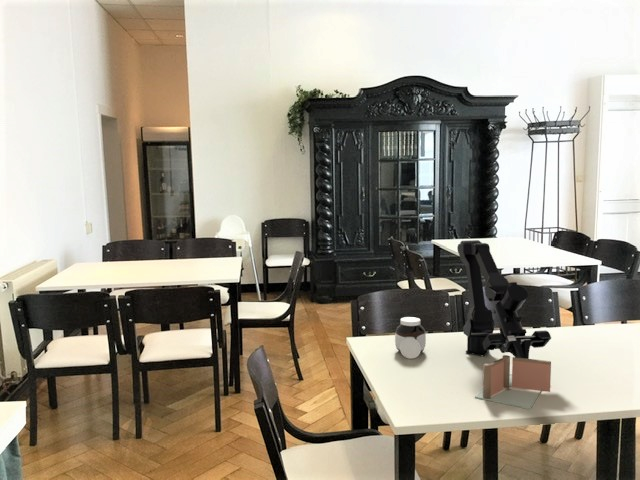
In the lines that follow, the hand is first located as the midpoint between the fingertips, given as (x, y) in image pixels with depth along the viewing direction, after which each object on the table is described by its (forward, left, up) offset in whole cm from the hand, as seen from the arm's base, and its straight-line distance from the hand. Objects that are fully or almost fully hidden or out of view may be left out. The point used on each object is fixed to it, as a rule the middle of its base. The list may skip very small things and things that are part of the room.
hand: (526, 367), depth 150 cm
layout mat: (-3, -2, -7) cm, 8 cm away
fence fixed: (-6, -6, -7) cm, 11 cm away
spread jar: (-40, +12, -7) cm, 43 cm away
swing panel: (0, -1, -6) cm, 6 cm away
